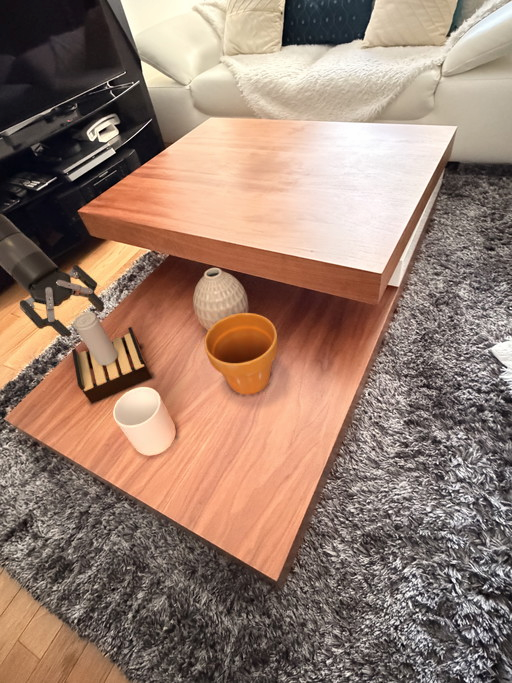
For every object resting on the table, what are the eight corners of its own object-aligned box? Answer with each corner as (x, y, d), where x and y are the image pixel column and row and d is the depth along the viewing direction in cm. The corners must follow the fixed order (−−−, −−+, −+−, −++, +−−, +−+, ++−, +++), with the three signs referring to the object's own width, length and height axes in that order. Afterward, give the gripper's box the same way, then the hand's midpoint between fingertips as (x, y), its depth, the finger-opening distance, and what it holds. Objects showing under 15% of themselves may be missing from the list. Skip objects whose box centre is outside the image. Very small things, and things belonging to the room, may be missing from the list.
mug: (143, 406, 83) (124, 374, 75) (185, 429, 77) (170, 397, 69) (113, 437, 78) (90, 407, 70) (156, 464, 72) (136, 434, 65)
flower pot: (294, 388, 81) (289, 345, 71) (231, 416, 78) (218, 375, 69) (265, 346, 90) (258, 303, 81) (208, 370, 87) (194, 328, 78)
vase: (221, 354, 90) (205, 299, 78) (191, 328, 98) (173, 274, 86) (262, 326, 95) (253, 270, 83) (231, 303, 103) (219, 249, 91)
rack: (91, 404, 85) (78, 385, 80) (84, 368, 93) (71, 349, 88) (152, 377, 88) (142, 358, 83) (140, 345, 96) (131, 326, 91)
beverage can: (93, 363, 87) (67, 324, 78) (108, 348, 89) (85, 309, 81) (108, 369, 85) (84, 330, 76) (123, 354, 87) (101, 314, 79)
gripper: (55, 252, 84) (110, 308, 86) (-6, 290, 76) (56, 349, 79) (57, 235, 77) (116, 296, 80) (-9, 274, 70) (59, 339, 72)
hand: (86, 322), depth 79 cm, fingers open, 8 cm apart
